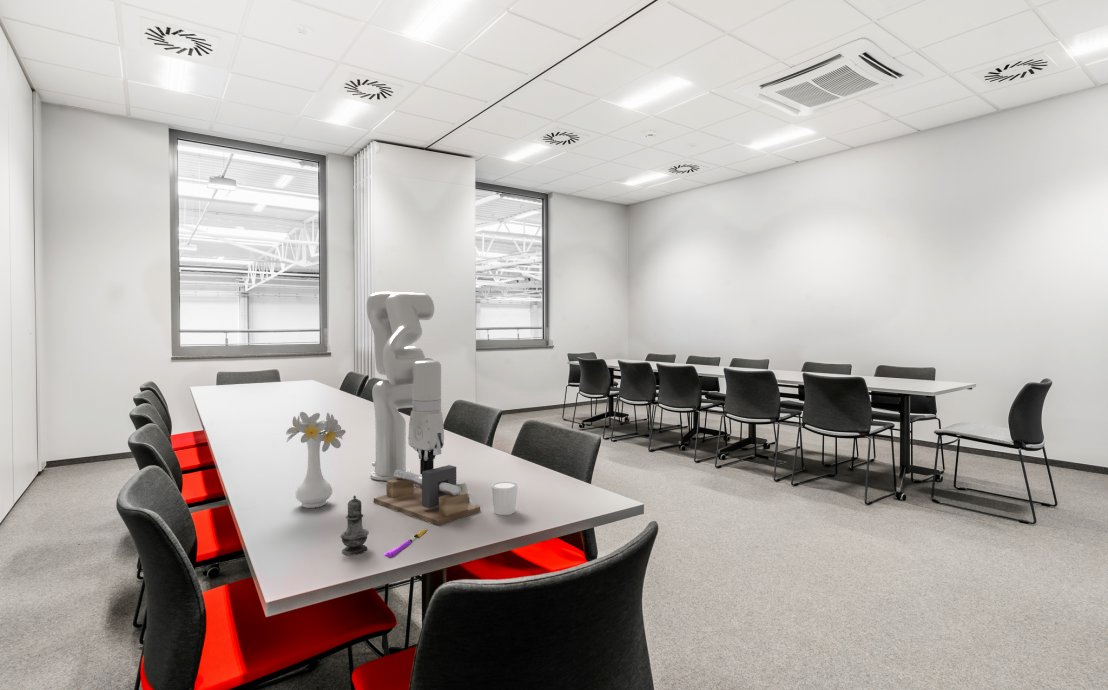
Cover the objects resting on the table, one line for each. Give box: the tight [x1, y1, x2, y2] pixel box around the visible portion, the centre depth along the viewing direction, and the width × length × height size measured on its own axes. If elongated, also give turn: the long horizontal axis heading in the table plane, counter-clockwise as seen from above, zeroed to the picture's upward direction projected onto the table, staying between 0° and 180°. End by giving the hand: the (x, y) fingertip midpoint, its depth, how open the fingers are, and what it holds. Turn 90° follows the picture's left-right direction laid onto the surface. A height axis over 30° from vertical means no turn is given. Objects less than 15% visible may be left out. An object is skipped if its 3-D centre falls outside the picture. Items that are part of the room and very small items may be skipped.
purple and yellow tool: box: [383, 529, 428, 558], centre depth 122 cm, size 3×1×16 cm
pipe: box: [394, 470, 461, 496], centre depth 147 cm, size 26×3×3 cm, turn 51°
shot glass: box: [490, 481, 518, 516], centre depth 144 cm, size 7×7×7 cm
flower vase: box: [285, 411, 346, 509], centre depth 148 cm, size 13×18×25 cm
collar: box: [421, 464, 457, 508], centre depth 144 cm, size 3×9×9 cm, turn 141°
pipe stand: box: [373, 478, 481, 526], centre depth 147 cm, size 28×14×5 cm, turn 51°
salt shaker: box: [339, 495, 370, 556], centre depth 118 cm, size 6×6×12 cm
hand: (426, 473), depth 147 cm, fingers closed
